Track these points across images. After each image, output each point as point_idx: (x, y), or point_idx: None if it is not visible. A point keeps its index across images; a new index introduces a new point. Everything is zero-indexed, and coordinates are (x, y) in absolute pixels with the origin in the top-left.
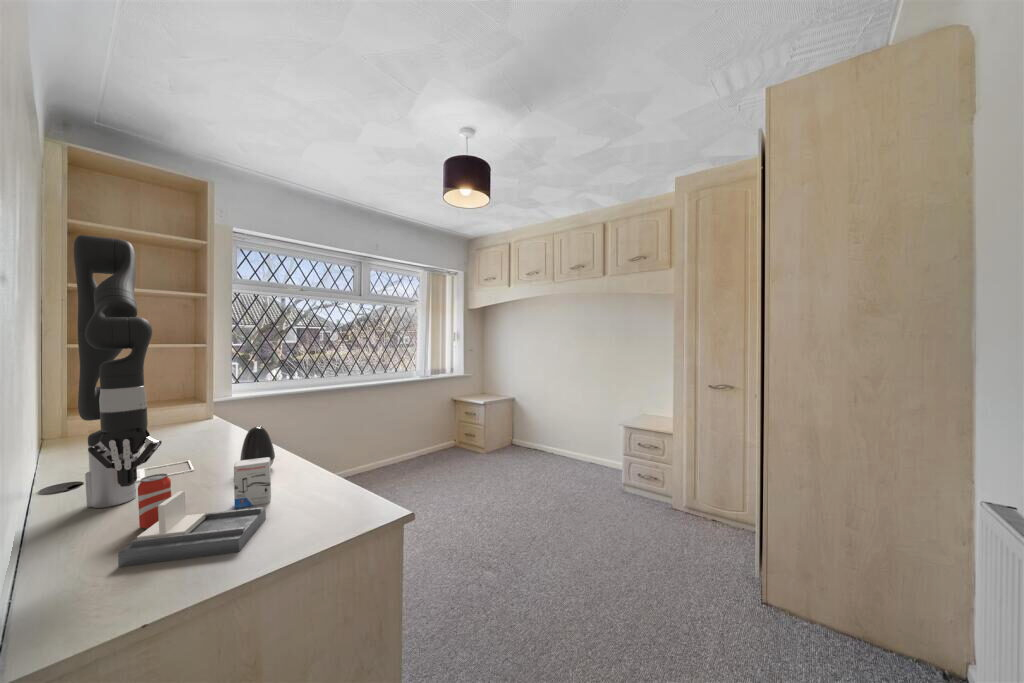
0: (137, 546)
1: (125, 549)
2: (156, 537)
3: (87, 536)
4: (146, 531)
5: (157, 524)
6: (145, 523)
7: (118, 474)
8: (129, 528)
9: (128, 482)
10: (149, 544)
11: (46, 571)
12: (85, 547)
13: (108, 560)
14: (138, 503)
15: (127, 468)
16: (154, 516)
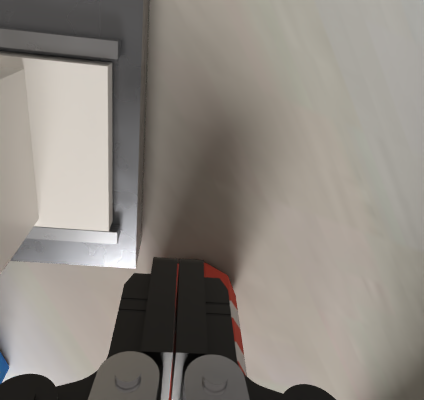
0: (92, 24)
1: (129, 11)
2: (23, 42)
3: (362, 273)
4: (97, 112)
5: (91, 172)
6: (204, 272)
7: (223, 335)
8: (263, 288)
9: (151, 274)
10: (49, 25)
11: (383, 58)
12: (336, 199)
13: (216, 67)
14: (235, 336)
15: (133, 363)
16: (176, 285)
